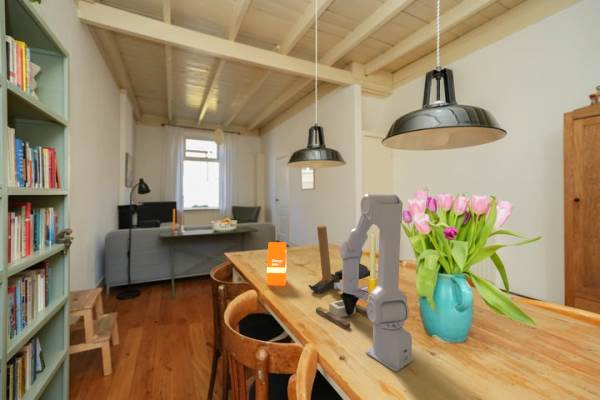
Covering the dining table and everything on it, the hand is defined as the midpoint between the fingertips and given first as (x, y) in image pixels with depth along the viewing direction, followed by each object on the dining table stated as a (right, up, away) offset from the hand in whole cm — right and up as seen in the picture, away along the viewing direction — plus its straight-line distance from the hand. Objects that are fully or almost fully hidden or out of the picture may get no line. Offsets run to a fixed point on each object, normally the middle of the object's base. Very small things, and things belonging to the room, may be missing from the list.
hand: (349, 314), depth 92 cm
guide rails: (-1, -1, +2) cm, 3 cm away
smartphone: (+17, -1, +23) cm, 29 cm away
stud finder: (-2, -1, +4) cm, 4 cm away
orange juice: (-29, 0, +35) cm, 46 cm away
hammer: (-5, -1, +28) cm, 29 cm away
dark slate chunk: (+12, -1, +50) cm, 52 cm away
